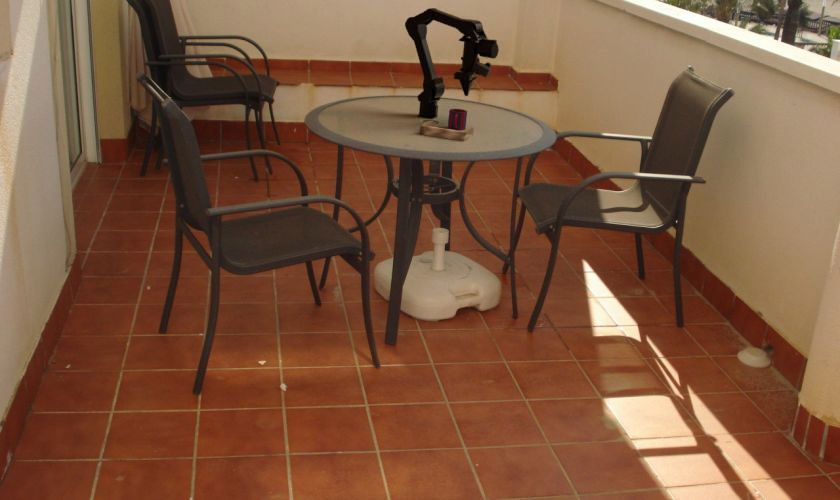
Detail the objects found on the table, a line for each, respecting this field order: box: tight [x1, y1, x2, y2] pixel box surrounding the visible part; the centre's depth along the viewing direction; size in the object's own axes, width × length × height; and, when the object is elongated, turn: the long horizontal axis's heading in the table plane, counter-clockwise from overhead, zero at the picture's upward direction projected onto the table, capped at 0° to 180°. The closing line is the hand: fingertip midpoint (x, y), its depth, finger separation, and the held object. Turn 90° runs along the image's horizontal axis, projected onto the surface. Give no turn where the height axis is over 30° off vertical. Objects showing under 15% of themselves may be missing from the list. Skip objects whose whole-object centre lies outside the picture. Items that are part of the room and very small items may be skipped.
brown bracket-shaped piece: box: [419, 120, 474, 142], centre depth 335 cm, size 17×11×3 cm, turn 71°
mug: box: [447, 108, 468, 131], centre depth 344 cm, size 7×10×7 cm
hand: (466, 95), depth 351 cm, fingers closed
